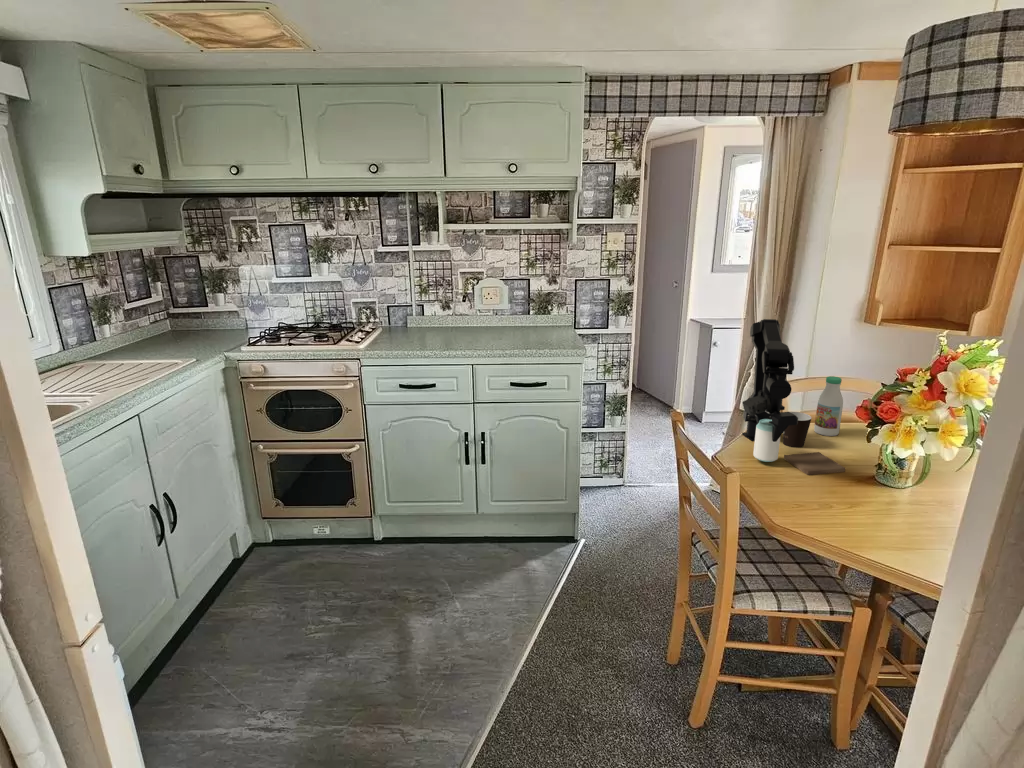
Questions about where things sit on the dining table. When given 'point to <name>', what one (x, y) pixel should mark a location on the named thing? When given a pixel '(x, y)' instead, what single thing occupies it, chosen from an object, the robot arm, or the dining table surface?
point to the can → (765, 442)
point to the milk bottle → (829, 408)
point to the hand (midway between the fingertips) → (767, 437)
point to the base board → (814, 463)
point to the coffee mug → (797, 431)
